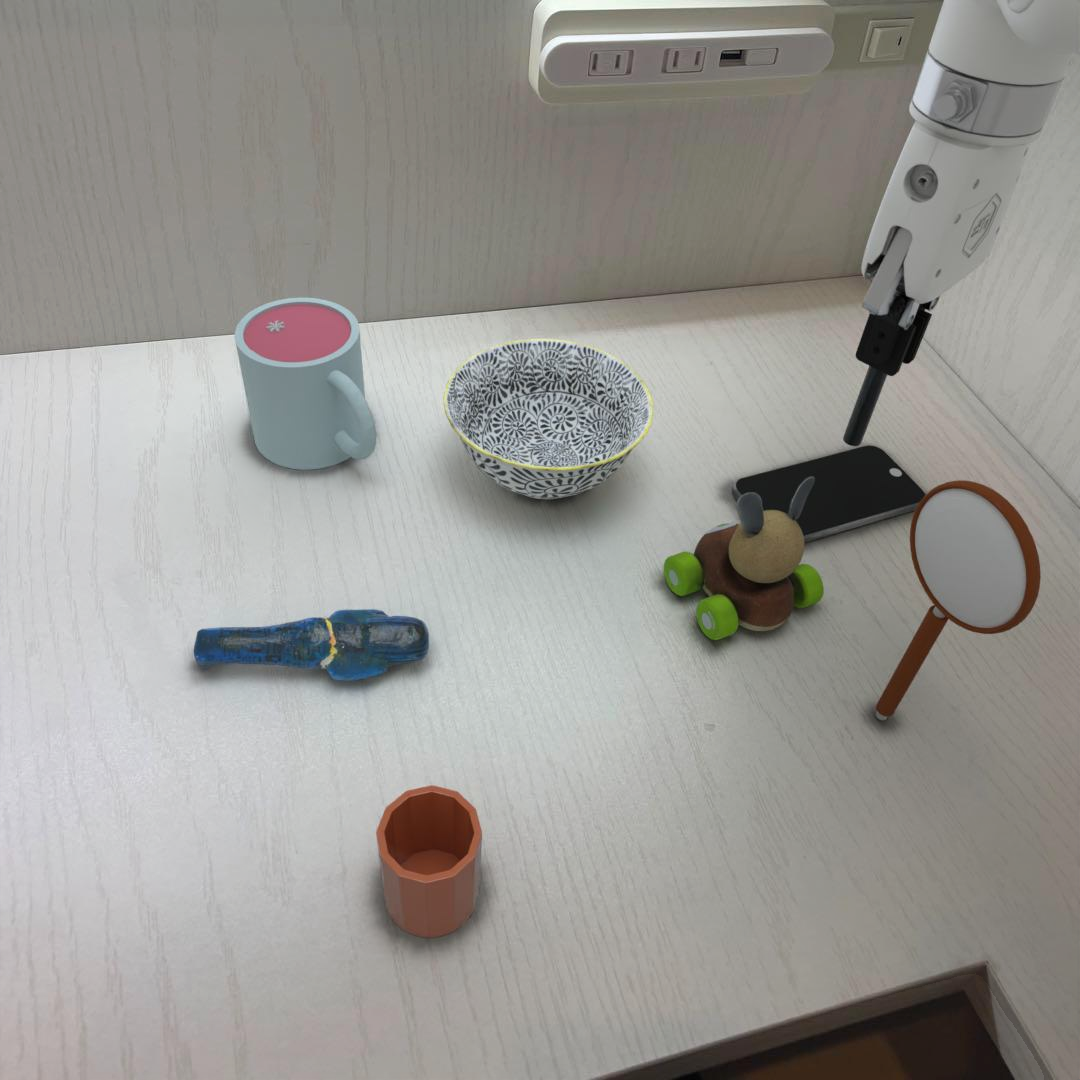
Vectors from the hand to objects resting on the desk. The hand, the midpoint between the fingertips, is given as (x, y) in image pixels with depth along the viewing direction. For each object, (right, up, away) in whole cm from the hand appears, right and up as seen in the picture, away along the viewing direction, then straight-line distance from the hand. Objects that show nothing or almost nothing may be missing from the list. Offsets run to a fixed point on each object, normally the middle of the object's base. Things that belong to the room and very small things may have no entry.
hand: (883, 359), depth 69 cm
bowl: (-24, -7, +10) cm, 27 cm away
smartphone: (-1, -9, +10) cm, 14 cm away
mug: (-42, -5, +11) cm, 44 cm away
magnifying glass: (-2, -25, -4) cm, 25 cm away
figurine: (-39, -21, -4) cm, 45 cm away
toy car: (-10, -17, +2) cm, 20 cm away
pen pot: (-31, -33, -15) cm, 47 cm away
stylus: (-1, -5, +5) cm, 8 cm away
